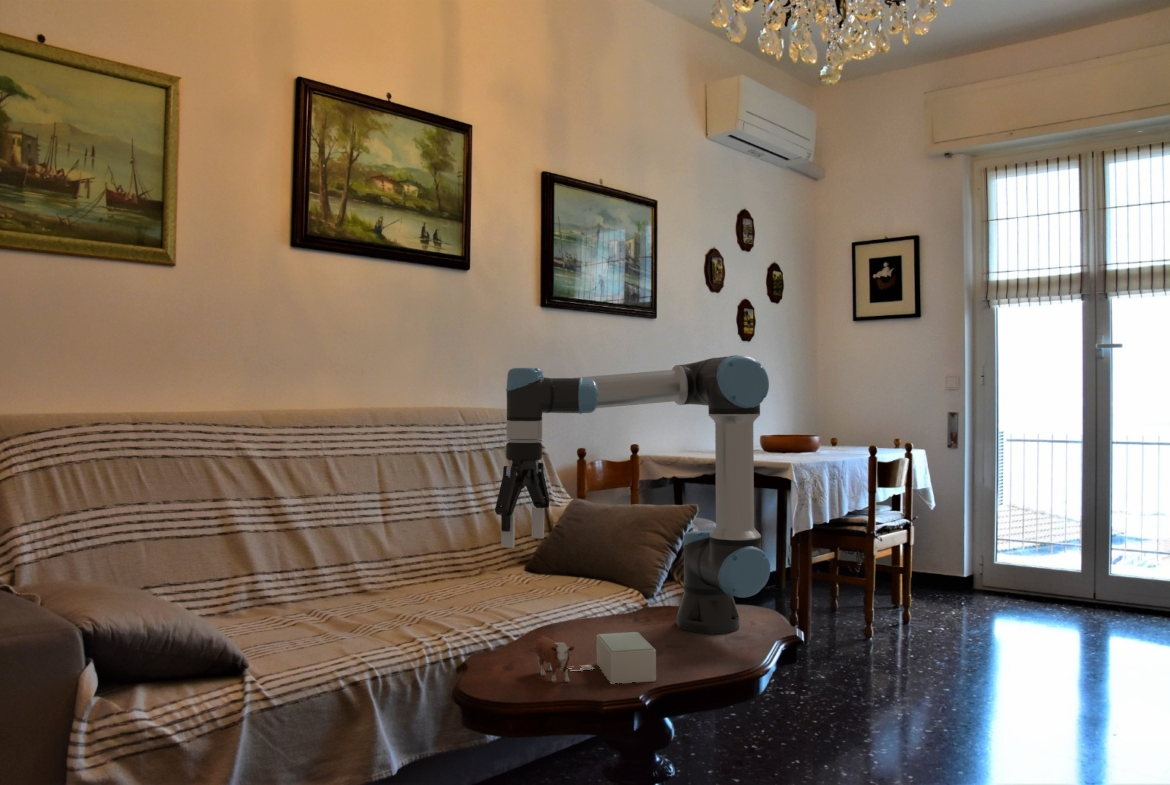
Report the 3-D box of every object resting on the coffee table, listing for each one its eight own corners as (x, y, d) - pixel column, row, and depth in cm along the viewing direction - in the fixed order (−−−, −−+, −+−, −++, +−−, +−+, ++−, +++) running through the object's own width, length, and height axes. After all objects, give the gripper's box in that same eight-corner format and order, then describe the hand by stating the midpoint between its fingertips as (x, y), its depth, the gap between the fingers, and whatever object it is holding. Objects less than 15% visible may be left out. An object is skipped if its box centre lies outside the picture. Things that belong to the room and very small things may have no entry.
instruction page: (590, 665, 180) (590, 664, 180) (595, 669, 177) (595, 668, 177) (567, 668, 179) (567, 667, 179) (571, 672, 176) (571, 671, 176)
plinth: (638, 661, 183) (638, 631, 183) (656, 681, 170) (655, 648, 170) (596, 664, 181) (596, 633, 181) (611, 684, 168) (610, 651, 168)
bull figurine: (557, 690, 165) (557, 647, 165) (532, 670, 177) (532, 630, 177) (578, 687, 167) (578, 644, 167) (552, 667, 179) (552, 628, 179)
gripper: (535, 438, 197) (534, 533, 197) (478, 443, 174) (477, 550, 174) (565, 439, 194) (564, 535, 194) (511, 444, 171) (510, 552, 171)
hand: (523, 542), depth 184 cm, fingers open, 13 cm apart
